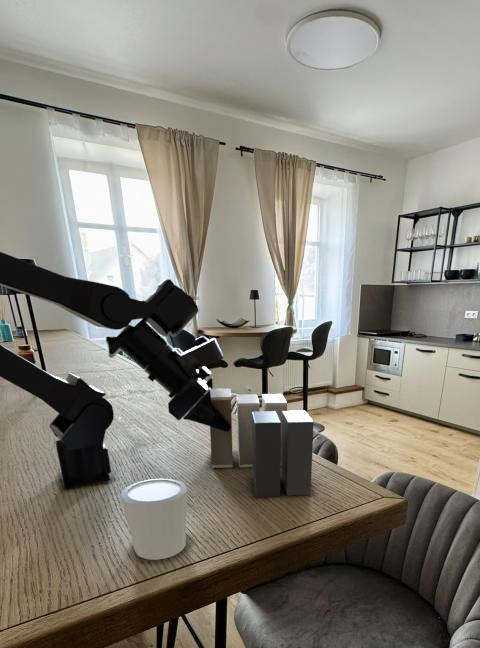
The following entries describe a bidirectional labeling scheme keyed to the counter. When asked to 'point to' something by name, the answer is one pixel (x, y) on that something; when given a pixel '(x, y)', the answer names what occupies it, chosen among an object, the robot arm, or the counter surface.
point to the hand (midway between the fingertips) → (229, 423)
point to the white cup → (156, 517)
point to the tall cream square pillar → (219, 438)
